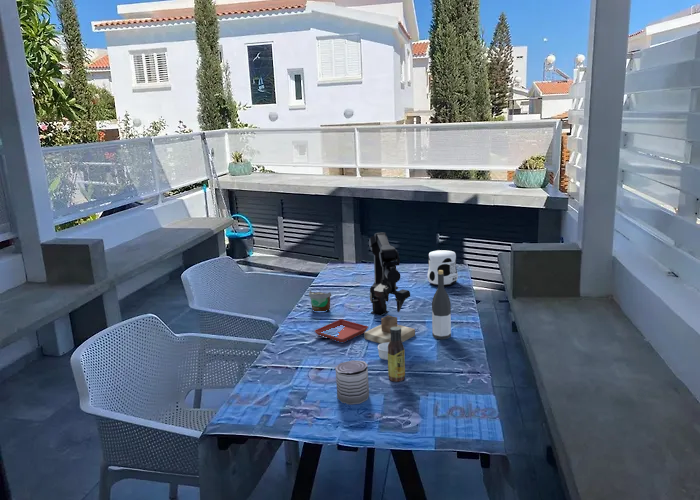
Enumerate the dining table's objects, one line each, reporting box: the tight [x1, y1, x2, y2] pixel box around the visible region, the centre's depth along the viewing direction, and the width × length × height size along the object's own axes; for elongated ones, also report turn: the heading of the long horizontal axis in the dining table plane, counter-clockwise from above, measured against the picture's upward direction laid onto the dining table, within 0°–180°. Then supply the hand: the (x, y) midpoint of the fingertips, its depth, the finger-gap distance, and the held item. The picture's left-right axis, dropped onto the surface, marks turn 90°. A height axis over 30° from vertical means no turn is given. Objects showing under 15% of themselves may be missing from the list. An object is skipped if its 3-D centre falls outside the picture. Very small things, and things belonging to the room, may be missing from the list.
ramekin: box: [377, 342, 389, 361], centre depth 224 cm, size 9×9×4 cm
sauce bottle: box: [387, 327, 406, 383], centre depth 202 cm, size 7×6×20 cm
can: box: [334, 359, 370, 405], centre depth 192 cm, size 11×11×12 cm
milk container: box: [427, 249, 459, 287], centre depth 316 cm, size 17×17×18 cm
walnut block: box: [380, 314, 398, 334], centre depth 243 cm, size 5×5×6 cm
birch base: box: [363, 324, 416, 344], centre depth 244 cm, size 16×16×3 cm
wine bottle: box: [431, 270, 452, 340], centre depth 239 cm, size 8×8×30 cm
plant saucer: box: [314, 318, 369, 343], centre depth 250 cm, size 18×18×3 cm
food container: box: [308, 290, 332, 311], centre depth 281 cm, size 12×6×10 cm, turn 68°
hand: (390, 309), depth 245 cm, fingers open, 9 cm apart
